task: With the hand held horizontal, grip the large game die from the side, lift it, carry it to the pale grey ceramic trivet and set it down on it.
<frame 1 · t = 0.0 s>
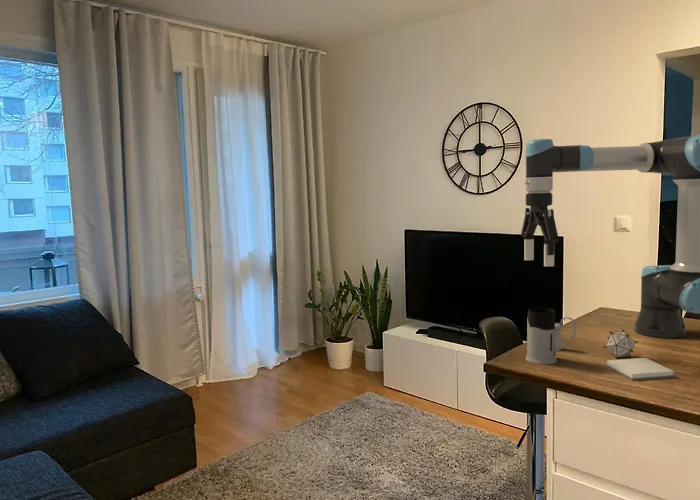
hand: (538, 263, 164), 28 cm above the table, tool pointing down, fingers open, 13 cm apart
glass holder: (550, 361, 160), on the table
game die: (619, 358, 161), on the table
rook chess piece: (555, 349, 171), on the table
trivet: (639, 371, 149), on the table
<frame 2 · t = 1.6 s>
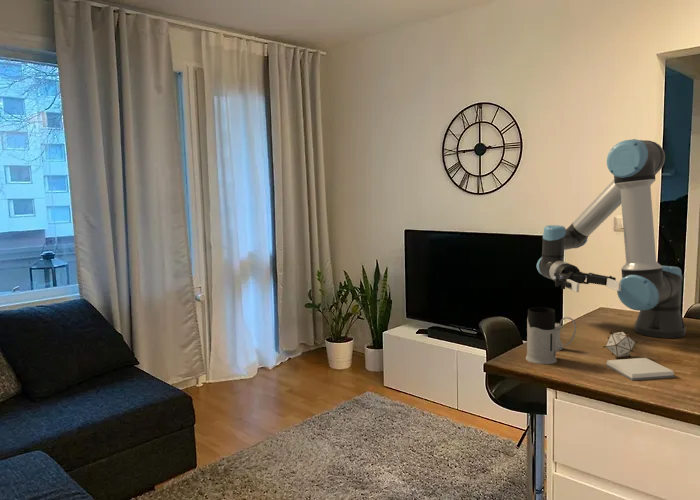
hand: (599, 287, 169), 19 cm above the table, tool horizontal, fingers open, 13 cm apart
nothing on the table moved.
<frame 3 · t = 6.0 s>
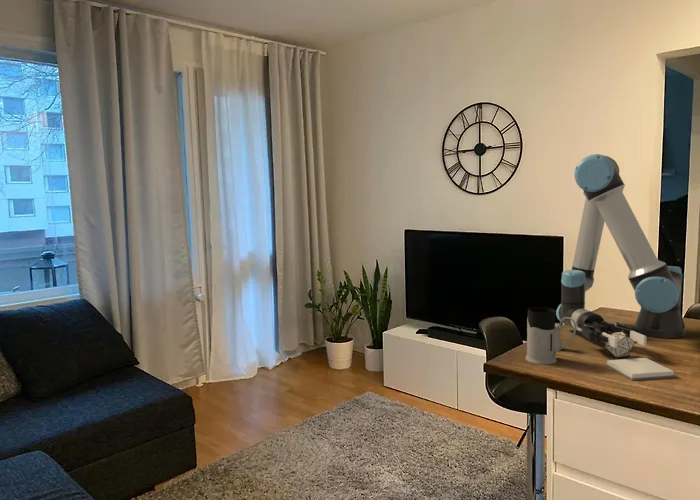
hand: (630, 342, 155), 6 cm above the table, tool horizontal, fingers closed on game die, 8 cm apart
game die: (619, 358, 161), on the table, touching gripper
everything else where it was.
when the fingers open (9 cm above the table, at t = 11.6 s): game die drops 1 cm, resting on trivet.
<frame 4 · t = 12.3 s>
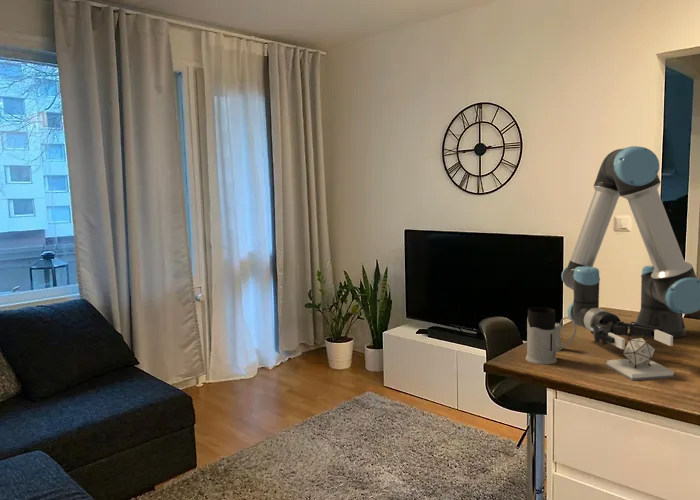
hand: (647, 342, 144), 9 cm above the table, tool horizontal, fingers open, 13 cm apart
game die: (638, 366, 148), point 1 cm above the table, touching trivet
everything else where it was.
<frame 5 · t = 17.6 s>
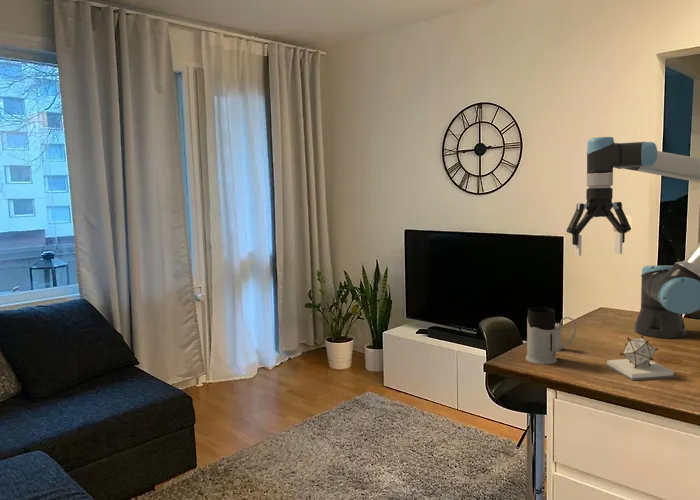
hand: (598, 254, 173), 29 cm above the table, tool pointing down, fingers open, 13 cm apart
nothing on the table moved.
at the end: game die inside the target area on the trivet (0.4 cm from its centre), point 1.4 cm above the trivet's base; the gripper is holding nothing; game die touching trivet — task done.
